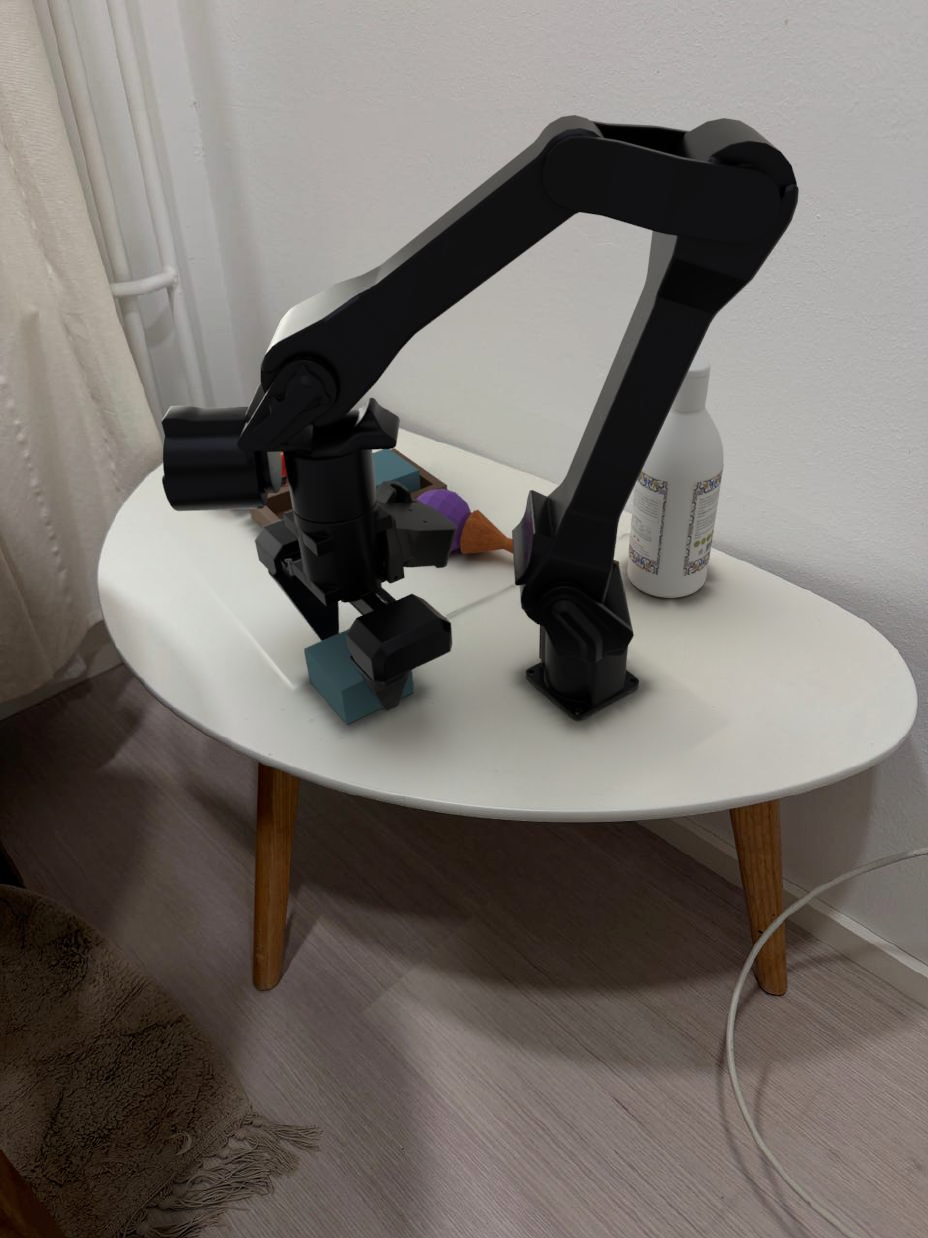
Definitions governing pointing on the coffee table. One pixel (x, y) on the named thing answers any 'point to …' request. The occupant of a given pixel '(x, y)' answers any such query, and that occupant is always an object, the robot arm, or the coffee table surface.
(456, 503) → the purple ice cream cone
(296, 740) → the coffee table surface
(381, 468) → the teal square block
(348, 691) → the loose pad
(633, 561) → the bath foam
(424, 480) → the frame
